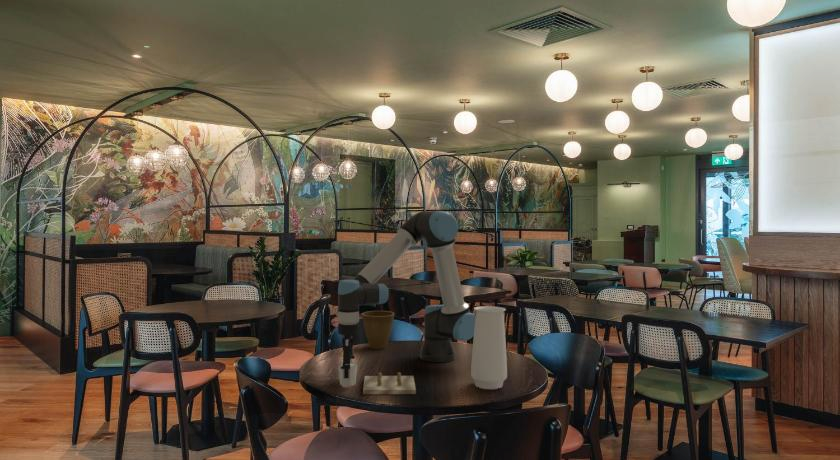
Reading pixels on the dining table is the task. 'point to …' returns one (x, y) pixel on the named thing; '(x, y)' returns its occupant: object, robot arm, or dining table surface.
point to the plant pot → (378, 328)
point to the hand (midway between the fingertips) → (347, 381)
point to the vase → (489, 348)
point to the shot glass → (352, 376)
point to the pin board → (389, 384)
